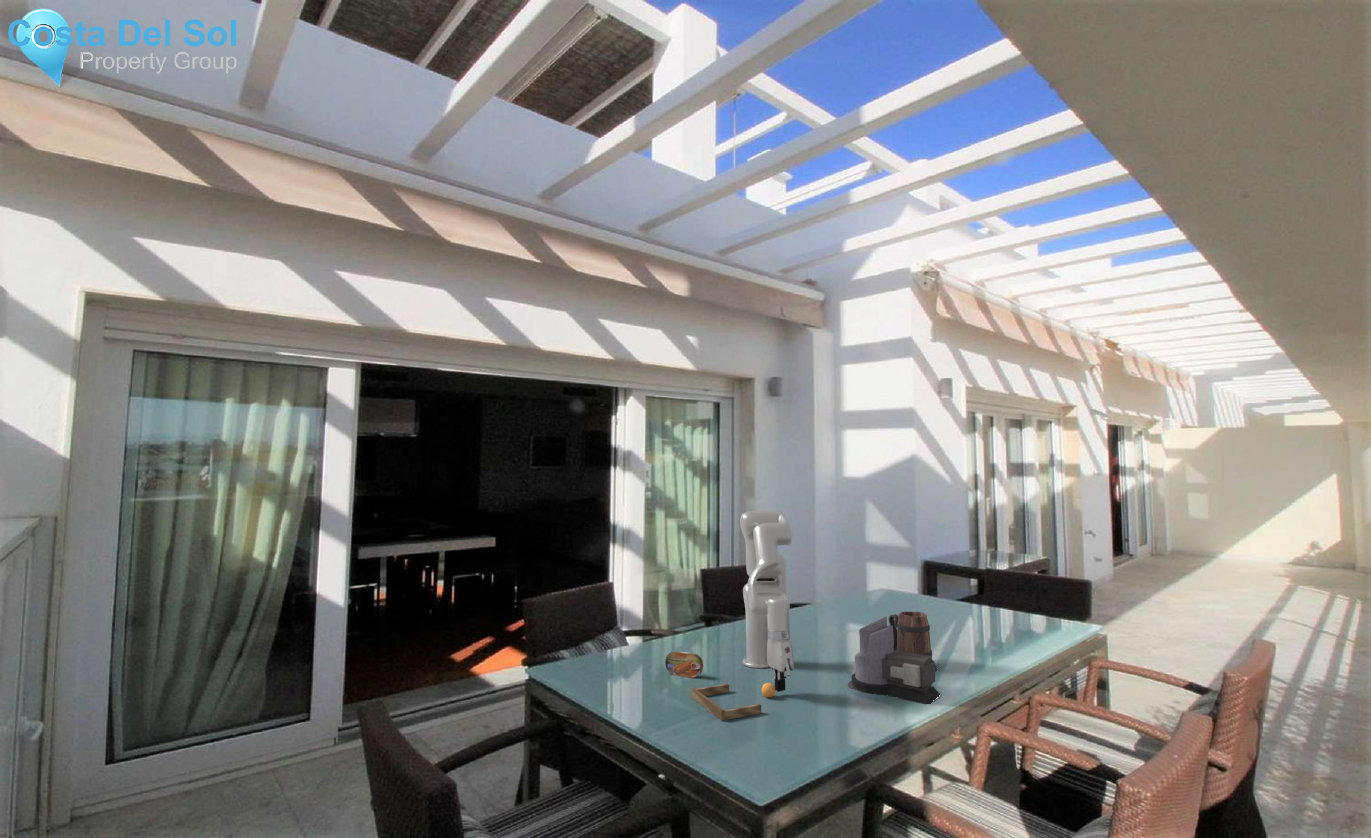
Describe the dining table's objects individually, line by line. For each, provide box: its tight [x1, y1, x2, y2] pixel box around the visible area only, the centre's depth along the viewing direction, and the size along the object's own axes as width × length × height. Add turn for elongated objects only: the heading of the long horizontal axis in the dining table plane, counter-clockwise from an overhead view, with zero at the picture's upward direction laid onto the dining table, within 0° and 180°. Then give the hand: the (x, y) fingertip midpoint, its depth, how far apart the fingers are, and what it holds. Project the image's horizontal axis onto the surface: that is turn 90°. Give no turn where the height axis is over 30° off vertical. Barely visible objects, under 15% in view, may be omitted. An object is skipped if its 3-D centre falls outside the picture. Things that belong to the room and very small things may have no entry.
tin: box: [664, 650, 704, 679], centre depth 231 cm, size 15×3×8 cm, turn 62°
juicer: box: [847, 616, 941, 705], centre depth 214 cm, size 30×16×24 cm, turn 50°
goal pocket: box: [690, 683, 762, 722], centre depth 200 cm, size 14×22×3 cm, turn 24°
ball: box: [761, 682, 776, 698], centre depth 207 cm, size 4×4×4 cm
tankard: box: [888, 610, 939, 673], centre depth 242 cm, size 24×17×20 cm
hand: (780, 690), depth 209 cm, fingers closed
